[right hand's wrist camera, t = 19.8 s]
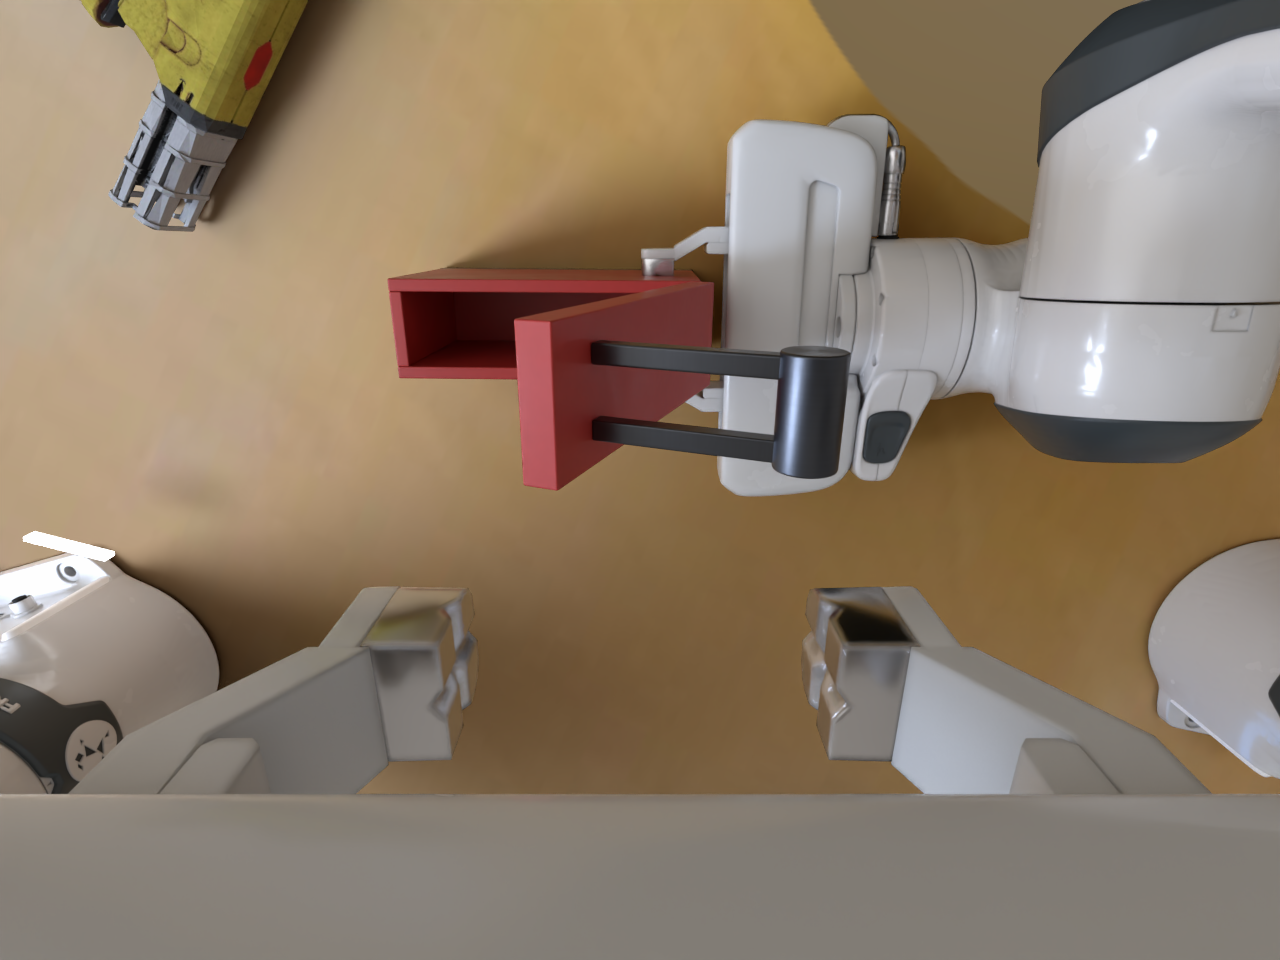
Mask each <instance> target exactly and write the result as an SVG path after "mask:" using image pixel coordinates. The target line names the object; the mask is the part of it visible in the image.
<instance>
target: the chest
mask: <svg viewBox="0 0 1280 960" xmlns="http://www.w3.org/2000/svg"><path fill="white" fill-rule="evenodd" d="M691 281H692V282H701V281H700V279H699V278H698V277H697V276H696V275H695V274H694V272H693V270H685V269H674V276H660V275H658V274H657V275H655V276H642V269H539V268H441V269H437V270H432V271H427V272H421V273H416V274H410V275H405V276H399V277H394V278H389V279H388V288H389V291H390V292H389V296H390V305H391V313H392V321H393V330H394V338H395V347H396V355H397V363H398V366H399V367H398V372H399V378H438V379H518V378H517V361H516V344H515V326H514V320H515V319H516V318H521V317H526V316H531V315H535V314H540V313H545V312H549V311H554V310H559V309H564V308H568V307H573V306H578V305H583V304H587V303H592V302H597V301H601V300H606V299H611V298H616V297H620V296H625V295H630V294H635V293H639V292H644V291H649V290H653V289H658V288H663V287H668V286H672V285H677V284H682V283H687V282H691Z"/></svg>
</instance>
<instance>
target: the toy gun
mask: <svg viewBox="0 0 1280 960" xmlns="http://www.w3.org/2000/svg"><path fill="white" fill-rule="evenodd" d="M81 1H82V4H83V6H84V7H85V8H86V10H87V11H88V13H89V14H90V15H91V16H92V17H93V18H94V19H95V21H96V22H97V23H98V24H99V25H100V26H102V27H108V28H110V27H118V26H120V27H123V28H124V26H125V25H126V24H127V25H128V26H129V27H130V28H131V29H132V30H134V32H135V33H136V35H137V36H138V38H139V39H140V41H141V42H142V44H143V46H144V47H145V49H146V50H147V52H148V53H149V55H150V57H151V58H152V59H153V60H154V63H155V67H156V70H157V73H158V76H159V81H158V84H157V86H156V88H155V91H152V94H151V99H152V100H151V102H150V104H149V106H148V108H147V110H146V112H145V114H144V116H143V118H142V119H141V120H140V122H139V129H138V131H137V134H136V136H135V138H134V141H133V143H132V145H131V148H130V150H129V152H128V155H127V156H125V158H124V163H125V165H124V167H123V170H122V172H121V174H120V176H119V178H118V180H117V182H116V184H115V186H114V188H113V189H112V190H110V192H109V196H110V198H111V199H112V200H113V201H114V202H115V203H117V204H118V205H119V206H120V207H128V208H133V209H134V210H135V211H136V212H135V214H134V215H133V216H134V217H135V218H136V219H137V220H139V221H140V222H141V223H143V224H144V225H146V226H148V227H150V228H152V229H154V230H166V231H191V232H193V231H194V230H195V226H196V225H195V223H196V221H197V219H198V217H199V215H200V213H201V211H202V209H203V207H204V205H205V203H206V201H209V198H210V192H211V190H212V188H213V186H214V184H215V182H216V180H217V178H218V176H219V174H220V172H221V170H222V168H224V167H225V165H226V162H225V161H226V159H227V158H228V156H229V154H230V152H231V151H232V149H233V147H234V145H235V144H236V142H237V140H238V139H242V138H243V136H244V134H245V132H246V129H247V127H248V125H249V123H250V121H251V119H252V117H253V114H254V112H255V110H256V108H257V106H258V104H259V102H260V100H261V98H262V96H263V94H264V92H265V89H266V87H267V85H268V83H269V81H270V79H271V77H272V75H273V73H274V71H275V69H276V67H277V65H278V62H279V60H280V58H281V56H282V54H283V52H284V50H285V48H286V46H287V44H288V42H289V40H290V37H291V35H292V33H293V31H294V29H295V27H296V25H297V23H298V21H299V19H300V17H301V15H302V12H303V10H304V8H305V6H306V4H307V2H308V0H81ZM135 185H140V186H142V187H144V188H145V190H144V192H139V191H133V190H134V187H135ZM130 197H142V199H141V201H140V203H139V205H138V206H137V205H135V204H134V203H128V201H129V199H130ZM180 199H184V201H185V203H186V204H185V206H184V208H183V211H182V213H181V215H179V214H175V213H174V211H175V209H176V207H177V205H178V203H179V201H180ZM155 202H156V204H155V205H154V203H155ZM153 205H154V207H153ZM152 207H153V209H152ZM151 209H152V210H151ZM171 217H173V218H177V219H179V220H180V221H182V222H183V223H184V227H182V226H167V225H168V223H169V221H170V219H171Z"/></svg>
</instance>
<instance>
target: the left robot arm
mask: <svg viewBox="0 0 1280 960" xmlns="http://www.w3.org/2000/svg"><path fill="white" fill-rule="evenodd" d="M888 134H889V137H890V139H891V146H889V147H887V140H888ZM1037 163H1038V167H1039V172H1038V178H1037V185H1036V191H1035V198H1034V204H1033V211H1032V217H1031V224H1030V230H1029V237H1028V238H1024V239H1020V240H1016V241H1013V242H1010V243H1006V244H1001V245H986V244H981V243H977V242H974V241H971V240H967V239H963V238H899V237H898V228H899V217H900V208H901V201H900V199H901V195H900V194H901V190H900V188H901V182H902V174H904V171H905V165H906V148H905V146H900V140H899V136H898V133H897V130H896V129H895V127H894V126H893V124H892V123H891V122H890V121H889V120H888V119H886V118H885V117H883V116H880V115H876V114H846V115H842V116H839V117H836V118H835V119H833V120H831V121H830V122H829V123H828V124H827V125H826V126H823V125H817V124H811V123H803V122H795V121H783V120H751V121H748V122H746V123H745V124H743V125H742V126H741V127H740V128H739V129H738V130H737V131H736V132H735V133H734V134H733V136H732V137H731V138H730V140H729V142H728V147H727V172H726V203H725V227H703V228H702V229H700V230H698V231H697V232H695V233H693V234H692V235H690V236H688V237H687V238H685V239H684V240H682V241H680V242H679V243H677V244H675V245H674V248H642V249H641V269H642V276H655V275H657V274H658V275H660V276H674V261H676V260H678V259H680V258H681V257H683V256H685V255H686V254H688V253H690V252H691V251H693V250H695V249H696V248H698V247H700V246H701V245H703V244H704V243H705V244H704V251H705V252H706V253H707V254H724V265H723V296H722V327H721V348H727V349H741V350H756V351H770V352H780V351H781V349H783V348H786V347H792V346H825V347H834V348H840V349H844V350H846V351H849V352H850V353H851V362H850V371H849V379H848V388H847V397H846V406H845V415H844V423H843V432H842V441H841V450H840V459H839V468H838V472H837V473H836V474H835V475H833V476H831V477H828V478H821V479H802V478H795V477H790V476H786V475H783V474H781V473H779V472H777V471H775V470H774V469H773V468H772V463H769V462H761V461H753V460H745V459H737V458H729V457H721V456H717V470H718V475H719V478H720V482H721V484H722V485H723V486H724V487H726V488H727V489H728V490H730V491H731V492H732V493H734V494H736V495H739V496H776V495H788V494H798V493H805V492H812V491H818V490H822V489H825V488H828V487H830V486H832V485H834V484H836V483H837V482H839V481H840V480H841V479H842V478H843V477H844V476H845V475H846V473H847V472H848V470H850V471H851V472H852V473H853V474H855V475H856V476H857V477H858V478H860V479H862V480H866V481H881V480H885V479H887V478H888V477H890V475H891V474H892V473H893V471H894V470H895V468H896V466H897V464H898V462H899V460H900V457H901V455H902V453H903V451H904V449H905V447H906V444H907V442H908V440H909V438H910V436H911V434H912V432H913V430H914V428H915V426H916V424H917V422H918V420H919V418H920V416H921V415H922V413H923V411H924V409H925V407H926V405H927V404H928V402H929V400H930V399H944V398H948V397H952V396H956V395H960V394H964V393H972V392H983V393H990V394H993V396H994V398H995V403H994V405H995V406H996V408H997V409H998V411H999V412H1000V413H1001V414H1002V415H1003V417H1004V418H1005V419H1006V420H1007V421H1008V422H1009V423H1010V424H1011V425H1012V426H1013V427H1014V428H1015V429H1016V430H1017V431H1018V432H1019V433H1020V434H1021V435H1022V436H1023V437H1024V438H1025V439H1026V440H1027V441H1028V442H1029V443H1030V444H1031V445H1032V446H1033V447H1034V448H1036V449H1037V450H1039V451H1041V452H1043V453H1045V454H1048V455H1051V456H1054V457H1057V458H1061V459H1067V460H1074V461H1086V462H1108V463H1182V462H1186V461H1188V460H1191V459H1193V458H1196V457H1198V456H1201V455H1203V454H1206V453H1208V452H1210V451H1213V450H1215V449H1217V448H1219V447H1222V446H1224V445H1226V444H1228V443H1230V442H1232V441H1234V440H1235V439H1237V438H1239V437H1240V436H1242V435H1244V434H1245V433H1247V432H1248V431H1249V430H1251V429H1252V428H1254V427H1255V426H1256V425H1257V424H1259V423H1260V422H1261V421H1262V418H1261V417H1262V415H1263V413H1264V411H1265V409H1266V407H1267V404H1268V402H1269V400H1270V398H1271V395H1272V393H1273V390H1274V386H1275V383H1276V380H1277V376H1278V373H1279V369H1280V0H1144V1H1142V2H1139V3H1137V4H1135V5H1131V6H1128V7H1126V8H1123V9H1120V10H1118V11H1116V12H1114V13H1113V14H1112V15H1110V16H1109V17H1108V18H1107V19H1106V20H1104V21H1103V22H1102V23H1101V24H1100V25H1099V26H1098V27H1097V28H1095V29H1094V30H1093V31H1092V32H1091V33H1090V34H1089V35H1088V36H1087V37H1086V38H1085V39H1084V40H1083V41H1082V42H1081V43H1080V44H1079V45H1078V46H1077V47H1076V48H1075V49H1074V50H1073V52H1072V53H1071V54H1070V55H1069V56H1068V57H1067V58H1066V59H1065V61H1064V62H1063V63H1062V64H1061V65H1060V66H1059V67H1058V69H1057V70H1056V71H1055V72H1054V74H1053V75H1052V76H1051V77H1050V79H1049V80H1048V81H1047V82H1046V84H1045V85H1044V87H1043V90H1042V100H1041V114H1040V127H1039V142H1038V155H1037ZM877 235H878V237H877V239H874V238H871V236H877ZM777 386H778V380H773V379H761V378H749V377H737V376H725V375H720V381H710V385H709V386H707V387H706V388H704V389H703V390H702V391H700V392H699V393H697V394H696V395H694V396H693V397H691V398H690V399H689V400H687V401H686V403H688V404H690V405H691V406H693V407H695V408H697V409H698V410H700V411H702V412H719V419H718V429H726V430H735V431H744V432H753V433H762V434H770V435H774V425H775V412H776V399H777ZM1148 654H1149V660H1150V664H1151V667H1152V669H1153V672H1154V674H1155V676H1156V679H1157V681H1158V685H1159V692H1158V699H1157V713H1158V715H1159V717H1160V718H1161V719H1163V720H1164V721H1165V722H1166V723H1168V724H1169V725H1170V726H1173V727H1176V728H1180V729H1185V730H1189V731H1194V732H1199V733H1203V734H1208V735H1211V736H1212V737H1214V738H1215V739H1216V740H1217V741H1218V742H1220V743H1221V744H1222V745H1223V746H1224V747H1226V748H1227V749H1228V750H1229V751H1230V752H1232V753H1233V754H1234V755H1235V756H1237V757H1238V758H1239V759H1240V760H1241V761H1243V762H1244V763H1245V764H1246V765H1248V766H1249V767H1250V768H1251V769H1252V770H1254V771H1255V772H1257V773H1258V774H1260V775H1262V776H1264V777H1270V776H1273V777H1275V778H1278V779H1280V539H1272V540H1265V541H1258V542H1253V543H1249V544H1245V545H1242V546H1239V547H1236V548H1233V549H1230V550H1228V551H1226V552H1223V553H1221V554H1219V555H1217V556H1215V557H1213V558H1212V559H1210V560H1208V561H1206V562H1205V563H1203V564H1202V565H1200V566H1199V567H1197V568H1196V569H1195V570H1193V571H1192V572H1191V573H1189V574H1188V575H1187V576H1186V577H1185V578H1184V579H1183V580H1181V581H1180V582H1179V583H1178V584H1177V585H1176V586H1175V588H1174V589H1173V590H1172V591H1171V592H1170V593H1169V595H1168V596H1167V597H1166V599H1165V600H1164V602H1163V603H1162V605H1161V606H1160V608H1159V610H1158V612H1157V614H1156V616H1155V618H1154V620H1153V623H1152V626H1151V630H1150V634H1149V640H1148Z"/></svg>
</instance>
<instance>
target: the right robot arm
mask: <svg viewBox="0 0 1280 960" xmlns="http://www.w3.org/2000/svg"><path fill="white" fill-rule="evenodd" d="M23 540H24V541H26V542H30V543H34V544H38V545H42V546H46V547H50V548H54V549H57V550H61V551H65V552H68V553H65V554H61V555H58V556H54V557H51V558H47V559H44V560H40V561H37V562H33V563H30V564H26V565H23V566H19V567H16V568H13V569H9V570H6V571H2V572H0V960H1280V794H1212V793H1211V792H1210V791H1209V790H1208V789H1207V788H1206V787H1205V786H1204V785H1203V784H1202V783H1201V782H1200V781H1199V780H1198V779H1197V778H1196V777H1195V776H1194V775H1193V774H1192V773H1191V772H1190V771H1189V770H1188V769H1187V768H1186V767H1185V766H1184V765H1183V764H1182V763H1181V762H1180V761H1179V760H1178V759H1177V758H1176V757H1175V756H1174V755H1173V754H1172V753H1171V752H1170V751H1169V750H1168V749H1167V748H1166V747H1165V746H1164V745H1163V744H1162V743H1161V742H1160V741H1159V740H1158V739H1157V738H1156V737H1155V736H1153V735H1151V734H1149V733H1147V732H1145V731H1143V730H1141V729H1139V728H1137V727H1135V726H1133V725H1131V724H1129V723H1127V722H1125V721H1123V720H1121V719H1119V718H1116V717H1114V716H1112V715H1110V714H1108V713H1106V712H1104V711H1102V710H1100V709H1098V708H1096V707H1094V706H1092V705H1090V704H1088V703H1086V702H1084V701H1082V700H1080V699H1078V698H1076V697H1074V696H1072V695H1070V694H1067V693H1065V692H1063V691H1061V690H1059V689H1057V688H1055V687H1053V686H1051V685H1049V684H1047V683H1045V682H1043V681H1041V680H1039V679H1037V678H1035V677H1033V676H1031V675H1029V674H1027V673H1025V672H1023V671H1021V670H1018V669H1016V668H1014V667H1012V666H1010V665H1008V664H1006V663H1004V662H1002V661H1000V660H998V659H996V658H994V657H992V656H990V655H988V654H986V653H984V652H982V651H980V650H978V649H976V648H974V647H961V645H960V644H959V643H958V641H957V640H956V639H955V638H954V636H953V635H952V634H951V632H950V631H949V630H948V628H947V627H946V626H945V625H944V623H943V622H942V621H941V619H940V618H939V617H938V615H937V614H936V613H935V612H934V610H933V609H932V608H931V606H930V605H929V604H928V602H927V601H926V600H925V599H924V597H923V596H922V595H921V593H920V592H919V591H918V589H916V588H914V587H912V586H899V587H857V588H816V589H810V591H809V594H808V598H807V604H806V613H805V615H806V617H807V620H808V622H809V625H810V627H811V630H812V631H811V632H810V633H809V634H808V635H807V636H806V637H805V638H804V639H803V643H802V657H801V664H802V680H803V685H804V690H805V693H806V697H807V700H808V703H809V704H810V705H811V706H813V707H814V708H815V709H817V710H818V715H817V725H816V726H817V728H818V731H819V734H820V737H821V739H822V742H823V745H824V748H825V750H826V753H827V756H828V759H829V760H855V761H892V763H891V764H892V765H893V766H894V767H895V768H896V769H897V770H898V771H899V772H901V773H902V774H903V775H904V776H905V777H906V778H907V779H908V780H910V781H911V782H912V783H913V784H914V785H915V786H916V787H917V788H919V789H920V790H921V791H922V792H923V793H924V794H356V793H357V792H358V791H360V790H361V789H362V788H363V787H364V786H365V785H366V784H367V783H369V782H370V781H371V780H372V779H373V778H374V777H375V776H376V775H378V774H379V773H380V772H381V771H382V770H383V769H384V768H385V767H387V766H388V761H424V760H451V759H452V756H453V753H454V751H455V748H456V745H457V742H458V739H459V737H460V734H461V731H462V728H463V716H462V710H463V709H465V708H466V707H467V706H469V705H470V704H471V703H472V699H473V696H474V693H475V690H476V684H477V677H478V662H479V654H478V643H477V640H476V638H475V637H474V636H473V635H472V634H471V633H470V632H469V631H468V630H469V627H470V625H471V622H472V620H473V617H474V615H475V613H474V606H473V598H472V594H471V592H470V590H469V588H436V587H402V588H401V587H400V586H386V587H367V588H363V589H362V590H361V592H360V593H359V594H358V596H357V597H356V598H355V599H354V601H353V602H352V603H351V605H350V606H349V607H348V609H347V610H346V611H345V613H344V614H343V615H342V616H341V618H340V619H339V620H338V622H337V623H336V624H335V626H334V627H333V628H332V630H331V631H330V632H329V633H328V635H327V636H326V637H325V639H324V640H323V641H322V643H321V644H320V645H319V647H306V648H304V649H302V650H300V651H298V652H296V653H294V654H292V655H290V656H288V657H286V658H284V659H282V660H280V661H278V662H276V663H274V664H272V665H270V666H267V667H265V668H263V669H261V670H259V671H257V672H255V673H253V674H251V675H249V676H247V677H245V678H243V679H241V680H239V681H237V682H235V683H233V684H231V685H229V686H227V687H224V688H222V689H220V690H218V691H217V688H218V683H219V665H218V659H217V655H216V652H215V649H214V647H213V644H212V642H211V640H210V638H209V637H208V635H207V633H206V632H205V630H204V629H203V627H202V626H201V625H200V623H199V622H198V621H197V620H196V619H195V617H194V616H193V615H192V614H191V613H190V612H189V611H188V610H187V609H185V608H184V607H183V606H182V605H181V604H180V603H178V602H177V601H176V600H174V599H173V598H171V597H170V596H168V595H167V594H165V593H164V592H162V591H160V590H158V589H156V588H154V587H152V586H150V585H148V584H145V583H143V582H141V581H139V580H136V579H134V578H132V577H130V576H129V575H127V574H125V573H124V572H123V571H122V570H121V569H119V568H118V567H117V566H116V565H115V564H114V563H113V562H111V561H110V560H109V559H110V558H111V557H113V556H115V552H114V551H110V550H106V549H103V548H99V547H95V546H91V545H87V544H83V543H79V542H75V541H71V540H67V539H63V538H59V537H55V536H51V535H47V534H43V533H39V532H35V531H34V532H32V533H30V534H28V535H26V536H24V537H23ZM73 568H74V569H75V570H74V569H73Z"/></svg>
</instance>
